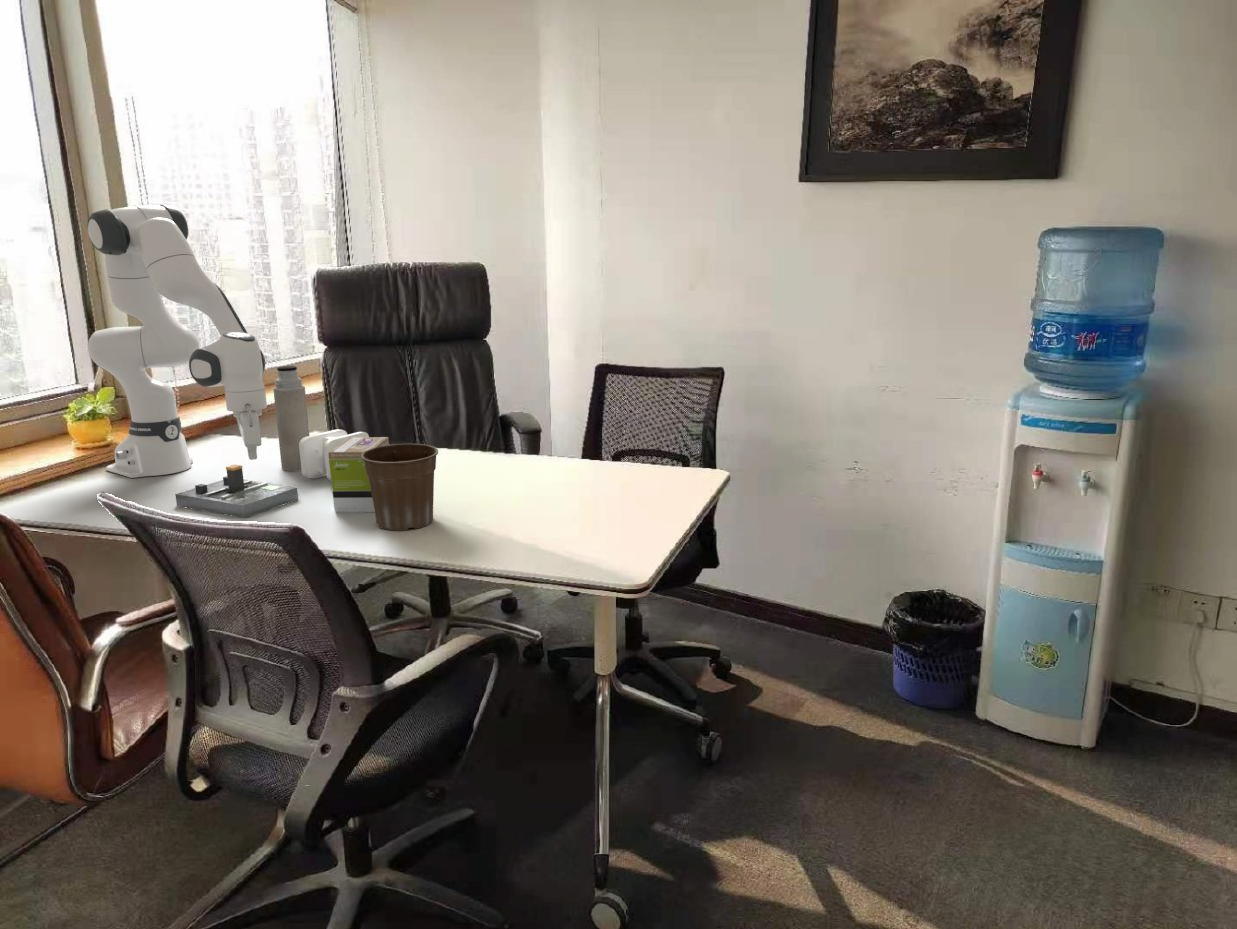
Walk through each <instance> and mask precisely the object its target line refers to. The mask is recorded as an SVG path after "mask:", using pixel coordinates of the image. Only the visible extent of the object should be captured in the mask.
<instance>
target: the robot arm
mask: <svg viewBox="0 0 1237 929" xmlns="http://www.w3.org/2000/svg"><path fill="white" fill-rule="evenodd" d="M87 234H88V236H89V239H90V241H91V243H92V245H93V247H94V248H95V249H96V250H97V251H99V252H100V253H102V254H104V261H105V270H106V275H107V280H108V281H107V282H108V286H109V291H110V297H111V301H112V303H113V305H114V307H115V308H116V309H117V310H119V311H120V312H122V313H123V314H127V315H129V316H131V317H134V318H136V319H137V320H138V321H140V322H141V324H142V325H140V326H139V325H135V326H114V327H108V328H103V329H100V330H96V331H93V333H92V334H91V335H90V338H89V339H88V343H87V351H88V354H89V357H90V359H91V360H92V361H93V363H94V364H96V366H97V367H99V368H101V369H103V370H105V371H107V372H108V373H110V374H111V375H112V376H113V377H114V378H115V379H116V380H117V381H118V383H119V384H120V385H121V386H122V388H123V390H124V393H125V395H126V398H127V402H128V407H129V412H130V417H131V420H130V421H129V422H125V424H128V425H126V426H125V427H126V428H128V427H129V428H128V435H127V436H126V437H125V438H124V439H123V440H122V441H121V442H120V443H119V444H118V445H117V446H116V447H115V449H114V461H115V462H114V463H112V464H109V465H107V466H106V469H105V471H107V472H111V473H115V474H118V475H121V476H124V477H127V478H133V479H134V478H142V477H153V476H164V475H172V474H176V473H180V472H184V471H186V470H189V469H191V467H192V464H193V463H194V460H193V458H191V457H190V455H189V450H188V446H187V442H186V439H185V438H186V437H185V435H184V434H183V433H182V432H181V431H182V422H181V419H180V416H178V408H177V401H176V393H175V390H174V389H173V388H172V386H170V385H169V384H167V382H166V383H165V382H164V381H161V380H158V379H156V378H152V377H151V376H150V375H149V374H148V373H147V371H146V369H151V368H153V369H155V368H171V367H172V368H175V367H178V366H179V367H180V366H184V365H188V369H189V372H190V375H191V378H192V379H193V380H194V381H195V383H197V384H198V385H199V386H201V387H207V388H214V387H215V388H216V387H222V386H223V387H224V397H225V405H226V411H228V412H232V413H233V417H234V418H235V419H236V422H237V427H238V429H239V432H240V435H241V438H242V441H243V445H244V446H245V448H246V449H247V450H246V451H247V456H248V459H249V460H251V461H252V460H257V459H258V454H257V447H261V446H262V435H261V434H262V433H261V427H260V419H259V417H260V416H262V415H263V410H264V409H266V408H267V407H268V404H267V395H266V394H267V393H266V386H265V384H264V381H263V374H264V372H265V369H266V358H265V355H264V353H263V351H262V350H261V349H260V346H259V342H258V340H257V338H256V337H255V336H254V335H253V334H249V333H248V331H247V329H246V328H245V326H244V324H243V322H242V321H241V319H240V317H239V315H238V314H237V313H236V311H235V309H234V307H233V305H232V304H231V302H230V301H229V298H228V297H227V296H226V294H225V293H224V292H223V290H222V289H221V287H219V285H218V284H216V283H214V282H213V281H212V280H211V279H210V278H209V277H208V275H206V273H205V272H204V271H203V269H202V267H201V266H200V264H199V262H198V261H197V259H196V256H195V254H194V252H193V249H192V248H191V246H190V244H189V242H188V240H187V239H188V237H189V225H188V222H187V218H186V216H185V215H184V214H183V212H182V211H181V210H180V209H179V208H178V207H177V206H173V205H168V204H158V205H154V204H153V205H147V204H145V205H142V204H139V205H131V206H125V207H117V208H113V209H106V208H105V209H100V210H97V211H94V212H92V213H91V214H90V216H89V218H88V220H87ZM162 297H163V298H166V299H167V300H169V301H171V302H174V303H176V304H180V305H185V306H188V307H191V308H193V309H196V310H198V311H200V312H202V313H204V314H205V315H206V316H208V318H209V319H210V320H211V322H212V323H213V325H214V326H215V328H216V330H217V332H218V333H219V335H220V337H219V339H217V340H216V341H214V342H212V343H211V344H209V345H208V344H207V345H206V346H203V347H200V343H199V339H198V337H197V335H196V334H195V332H194V331H193V330H192V329H190V327H188V326H186V325H183V324H182V323H180V322H179V321H178V320H177V319H175V318H174V317H173V315H172V314H171V313H170V311H169V310H168V309H167V307H166V306H165V303H164V300H163V298H162Z"/></svg>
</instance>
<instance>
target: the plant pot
mask: <svg viewBox="0 0 1237 929" xmlns="http://www.w3.org/2000/svg"><path fill="white" fill-rule="evenodd" d="M438 454H439V449H438V448H436V447H435V446H433V445H429V444H423V443H394V444H393V443H392V444H389V445H384V446H379V447H375V448H372V449H369V450H366V451H365V452H363V453H362V454H361V458H362V459H363V460H364V464H365V469H366V473H367V475H368V477H369V482H370V488H371V493H372V499H373V504H374V510H375V512H374V516H375V523H376V524H377V526H378V528H380V529H383V530H386V531H392V532H393V531H394V532H395V531H397V532H398V531H399V532H400V531H401V532H402V531H407V530H408V529H415V530H416V529H420V528H423V527H427V526H428V525H429V524H431V523H432V522H433V520H434V495H435V494H434V492H435V491H434V490H435V488H434V487H435V486H434V485H435V470H436V467H437V455H438Z"/></svg>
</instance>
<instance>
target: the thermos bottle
mask: <svg viewBox="0 0 1237 929" xmlns="http://www.w3.org/2000/svg"><path fill="white" fill-rule="evenodd" d="M276 369H277V370H276V371H278V373H277V378H275V383H274V385H275V387H273V390H272V391H273V397H274V400H273V401H274V409H275V417H276V426H277V435H278V436H277V437H278V446H279V453H280V454H279V455H280V463H281V464H280V465H281V469H282V471H285V470H286V472H296V471H297V472H298V471H299V472H301V471H302V470H301V460H300V450H299V442H300V440H301V439H302V438H304V437H307V436H310V430H309V416H308V408H307V407H308V406H307V397H306V394H307V393H306V387H305V385H303V384H302V382H303V381H302V378H301V377H299V376H298V371H297V370H298V368H297V366H295V365H283V366H279V367H277V368H276Z"/></svg>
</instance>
